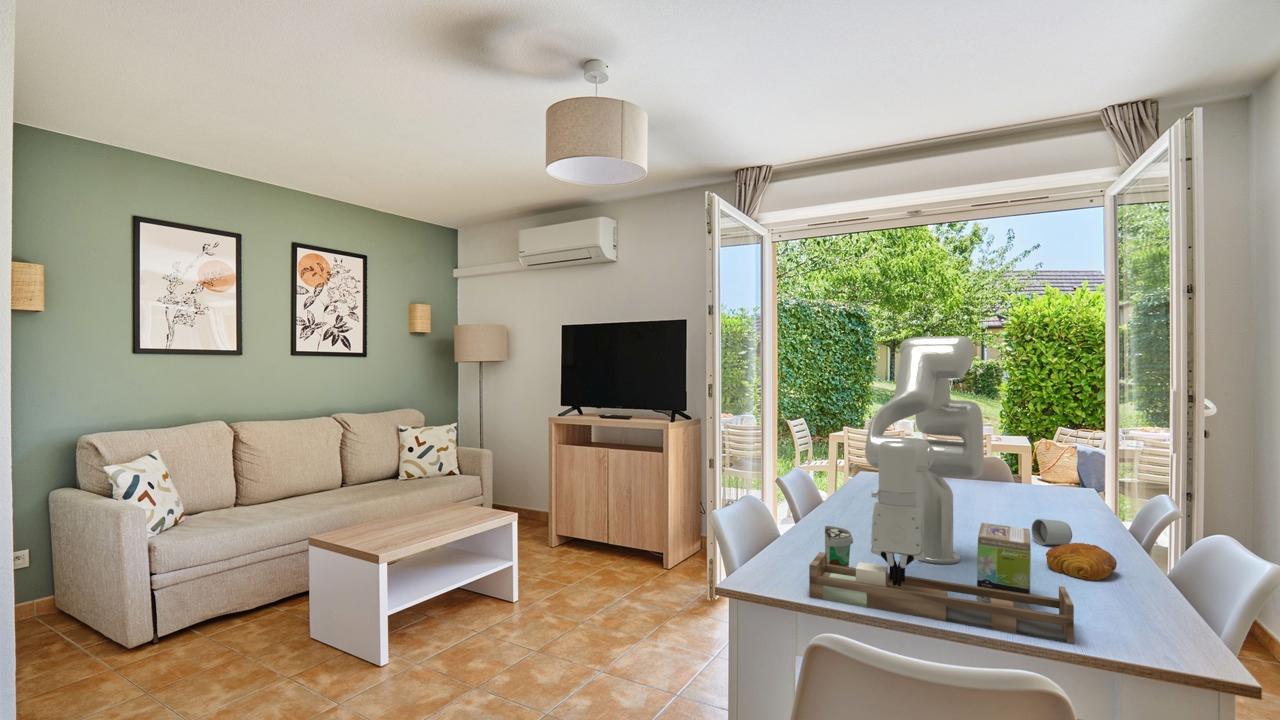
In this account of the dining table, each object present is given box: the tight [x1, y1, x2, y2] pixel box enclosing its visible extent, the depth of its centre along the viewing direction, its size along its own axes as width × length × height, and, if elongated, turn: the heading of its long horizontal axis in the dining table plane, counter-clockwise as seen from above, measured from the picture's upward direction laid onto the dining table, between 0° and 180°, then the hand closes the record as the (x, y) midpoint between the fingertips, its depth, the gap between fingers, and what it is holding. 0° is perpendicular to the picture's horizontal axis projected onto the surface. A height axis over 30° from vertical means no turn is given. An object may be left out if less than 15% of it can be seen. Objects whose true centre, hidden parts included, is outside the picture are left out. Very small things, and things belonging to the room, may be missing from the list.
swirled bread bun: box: [1045, 542, 1117, 582], centre depth 152 cm, size 14×16×8 cm
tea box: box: [976, 522, 1032, 610], centre depth 134 cm, size 15×10×15 cm
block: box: [855, 561, 889, 587], centre depth 132 cm, size 5×6×4 cm
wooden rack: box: [808, 551, 1075, 645], centre depth 127 cm, size 11×48×7 cm, turn 62°
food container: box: [824, 525, 854, 567], centre depth 150 cm, size 12×6×10 cm, turn 168°
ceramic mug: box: [1031, 518, 1073, 546], centre depth 178 cm, size 10×8×7 cm
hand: (897, 583), depth 130 cm, fingers closed
